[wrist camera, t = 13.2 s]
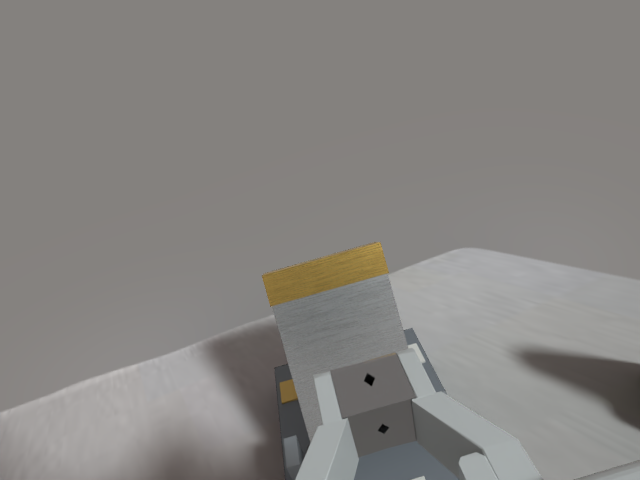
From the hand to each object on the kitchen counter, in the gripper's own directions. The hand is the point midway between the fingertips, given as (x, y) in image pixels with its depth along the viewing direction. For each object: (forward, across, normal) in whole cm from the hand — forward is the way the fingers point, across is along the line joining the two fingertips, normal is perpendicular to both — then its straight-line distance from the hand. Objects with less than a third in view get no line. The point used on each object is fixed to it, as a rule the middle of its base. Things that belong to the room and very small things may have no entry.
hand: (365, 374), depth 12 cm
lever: (+11, 0, +21) cm, 24 cm away
